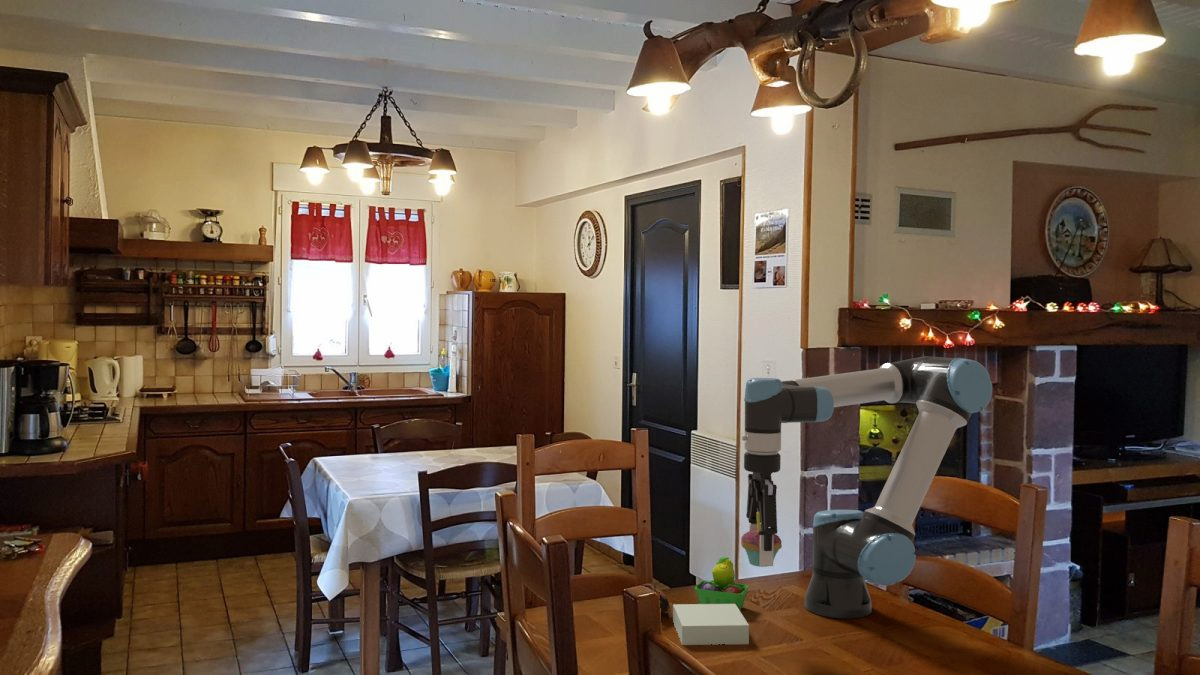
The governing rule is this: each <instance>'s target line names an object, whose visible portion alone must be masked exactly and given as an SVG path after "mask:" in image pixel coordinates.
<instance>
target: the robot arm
mask: <svg viewBox="0 0 1200 675" xmlns="http://www.w3.org/2000/svg"><path fill="white" fill-rule="evenodd" d="M744 391H745V392H744V398H743V400H744V435H743V436H742V437H741V440H742V441H744V449H745V453H744V454H743V469H744V470H745V471H746V472H751V473H748V475H747V480H748V481H747V482H748V483H747V484H748V487H747V503H746V518H747V520H748V521H747V522H748V523H749V524H748V532H749V531H752V530H757V513H756V512H757V509H758V512H760V529H761V531H759V532H758V535H760V557H759V565H760V566H767V567H774V561H773V552H774V534H776V535H778V518H777V516H778V515H777V513H778V512H777V488H778V487H777V484H775V483H774V480H772V474H774V473H778V472H780V471H781V459H782V458H781V454H780V453H779V452H780V451H781V450H782V424H787V423H813V424H816V423H818V422H819V423H821V422H827V421H829V420H830V418H831V417H832V416H833V414H834V409H835V408H839V407H844V406H852V405H859V404H866V403H874V402H881V401H884V402H887V403H888V404H898V403H907V404H908V403H909V404H916V407H917V410H918V414H917V416H916V419H915V421H914V423H913V425H912V427H911V429H910V431H909V433H908V436H907V438H906V440H905V442H904V444H903V446H902V447H901V450H900V453H899V455H898V456H897V459H896V461H895V463H894V465H893V467H892V469H891V472H890V473H889V476H888V478H887V480H886V482H885V483H884V486H883V488H882V491H881V492H880V494H879V497H878V499H877V501H876V503H875V505H874V506H873V507H870V508H867V509H865V510H864V511H862V510H859V509H857V510H856V509H828V510H827V509H826V510H821V511H820V510H819V511H818V512H816V513H815V514H814V516H813V523H812V574H811V579H810V581H809V584H808V587H807V589H806V592H805V595H804V607H805V609H807V611H809V612H811V613H812V614H816V615H819V616H823V617H826V618H827V617H828V618H832V619H833V618H835V619H859V618H864V617H867V616H869V615H870V614H872V599H871V596H870V593H869V590H868V586H867V583H866V581H867V582H870V583H874V584H878V585H881V586H891V585H895V584H897V583H900V582H903V580H905V579H906V578H907V577H908V576H909V575H910V574H911V573H912V570H913V568H914V567H915V564H916V558H917V554H915V552H916V548H915V545H914V543H913V541H914V539H915V536H916V532H915V529H914V527H913V522H914V520H915V518H916V517H917V514H918V512H919V510H920V508H921V506H922V504H923V501H924V500H925V497H926V495H927V493H928V491H929V489H930V486H931V484H932V482H933V480H934V477H936V476H935V475H936V474H937V472H938V469H939V467H940V465H941V462H942V460H943V458H944V456H945V454H946V452H947V450H948V448H949V445H951V444H950V443H951V441H952V439H953V437H954V434H955V432H956V431H957V429H958V428H961V427H962V428H963V427H964V426H966V425H967V424H968V422H969V420H970V418H971V415H972V414H974V413H978V412H980V411H983V410H985V409H986V408H987V406H988V405H989V403H990V401H991V399H992V395H993V382H992V380H991V376H990V374H989V371H988V370H987V369H986V367H985V366H984V365H982V364H981V363H980V362H978V361H977V360H974V359H968V358H965V357H945V356H943V357H942V356H940V357H939V356H934V355H933V356H932V355H930V356H928V355H927V356H919V357H915V358H914V357H913V358H909V359H905V360H904V359H903V360H898V361H894V362H887V363H883V364H882V365H880V366H879V368H874V369H866V370H859V371H852V372H843V373H835V374H828V375H822V376H813V377H805V378H798V379H792V380H781V379H779V378H776V377H775V378H773V377H751V378H749V379H748V380H746V383H745V390H744Z"/></svg>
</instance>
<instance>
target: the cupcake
mask: <svg viewBox="0 0 1200 675" xmlns="http://www.w3.org/2000/svg"><path fill="white" fill-rule="evenodd" d="M756 513H757V530H752V531H749V530H748V531H747V532H745V533H743V535H742V536H741V539H740V545H741V547H742V548H743V549H744V550H745V552H746V556H747V559H748V562H749V564H750V565H751V566H754V567H759V568H760V567H762V568H764V567H765V568H766V567H768V566H760V565H759V557H760V535H758V532H759V531H761V529H760V524H761V523H760V512H758V509H757V512H756ZM782 542H783V541H782V540H781V538H780V536H779V535H778V534H774V552H773V562H774V560H775V558H776V555H777V554H778V552H779V550H780V549H782V547H783V546H782Z"/></svg>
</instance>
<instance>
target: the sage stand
mask: <svg viewBox="0 0 1200 675" xmlns="http://www.w3.org/2000/svg"><path fill="white" fill-rule="evenodd" d="M672 623H674V624H673V625H674V626H673V627H674V628H676V629H675V630H676V631H675V632H676V634H677V633H678V634H677V636H678V639H679V638H680V639H679V641H680V643H681V645H682V646H698V645H699V646H700V645H701V646H711V644H712V646H714V645H716V646H717V645H719V644H720V645H722V644H725V645H749V644H750V641H749V640H750V637H749V636H750V624H749V623H748V622H747V619H746V618H745V617H744V615H743V614H742V612H741V610H739V609H738V607H737V606H736V604H699V603H697V604H695V603H693V604H692V603H689V604H687V603H685V604H684V603H682V604H672ZM720 645H719V646H720ZM722 646H723V645H722Z"/></svg>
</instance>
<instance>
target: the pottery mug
mask: <svg viewBox="0 0 1200 675" xmlns="http://www.w3.org/2000/svg"><path fill="white" fill-rule="evenodd" d="M639 586H645V587H651V588H652V589H653V590H655V591H657V592H660V599H659V600H660V607H659V609H660V608H661V612H660V613H665V612H666V613H667V614H668V615H667V616H668V617H667V618H668V619H669V618H671V619H672V618H673V613H672V611H671V610H672V609H671V606H670V603H669V600H668V598H667V596H666V594H665V593H664V592H663V591H662V590H661V589H659V588H657V587H656V585H655V584H654V583H651V582H650V583H644V584H641V585H639ZM662 611H663V612H662Z"/></svg>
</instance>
